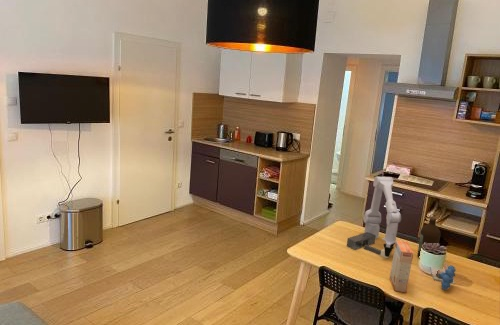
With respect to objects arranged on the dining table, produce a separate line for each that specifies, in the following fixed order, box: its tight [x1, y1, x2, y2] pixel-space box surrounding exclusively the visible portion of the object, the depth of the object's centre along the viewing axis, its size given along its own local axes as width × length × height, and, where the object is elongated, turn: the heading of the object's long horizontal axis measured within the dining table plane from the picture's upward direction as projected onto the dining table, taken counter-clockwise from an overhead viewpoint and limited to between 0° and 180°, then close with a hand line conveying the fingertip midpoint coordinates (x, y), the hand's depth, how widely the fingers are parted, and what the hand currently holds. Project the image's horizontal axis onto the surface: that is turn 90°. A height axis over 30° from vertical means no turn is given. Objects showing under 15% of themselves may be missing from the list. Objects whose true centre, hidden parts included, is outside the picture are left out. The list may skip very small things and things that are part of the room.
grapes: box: [440, 265, 457, 291], centre depth 189 cm, size 12×7×12 cm, turn 134°
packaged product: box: [431, 262, 456, 285], centre depth 203 cm, size 18×5×10 cm
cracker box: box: [389, 239, 414, 293], centre depth 187 cm, size 14×6×21 cm, turn 168°
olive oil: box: [417, 216, 442, 259], centre depth 220 cm, size 11×11×25 cm
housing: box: [346, 232, 377, 251], centre depth 234 cm, size 20×6×5 cm, turn 128°
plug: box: [363, 244, 392, 259], centre depth 224 cm, size 4×15×3 cm, turn 46°
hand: (387, 254), depth 220 cm, fingers closed on plug, 5 cm apart
